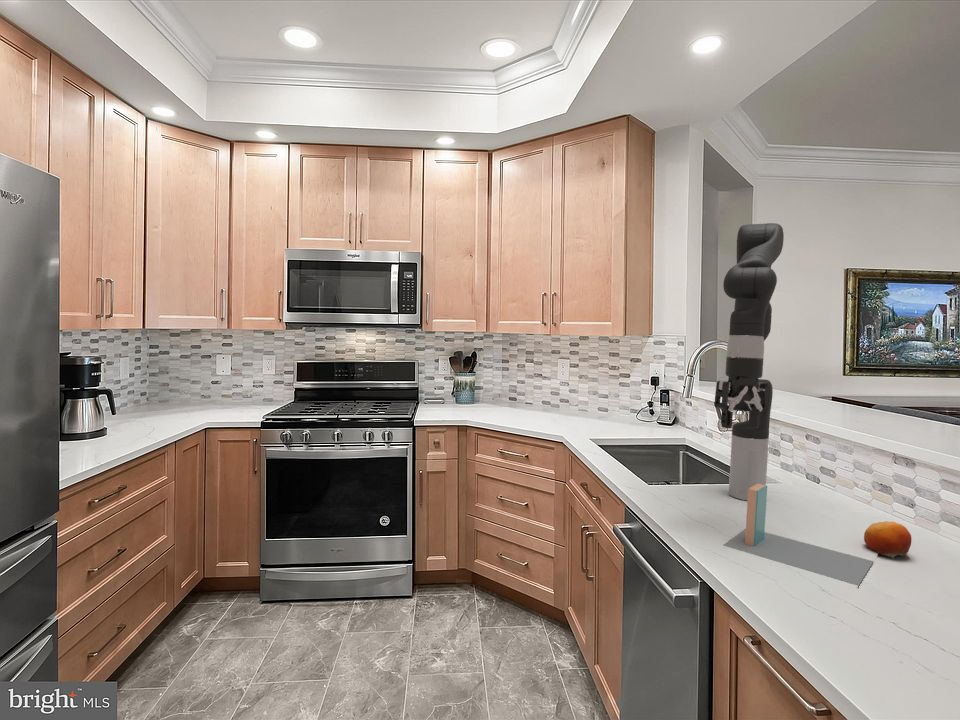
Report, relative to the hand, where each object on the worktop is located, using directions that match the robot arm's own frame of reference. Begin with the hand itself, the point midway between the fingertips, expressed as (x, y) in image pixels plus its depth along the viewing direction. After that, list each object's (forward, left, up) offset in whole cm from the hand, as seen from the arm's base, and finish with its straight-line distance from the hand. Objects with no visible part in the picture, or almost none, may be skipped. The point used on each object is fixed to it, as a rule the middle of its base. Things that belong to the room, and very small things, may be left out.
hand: (740, 427), depth 120 cm
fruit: (-13, +26, -25) cm, 39 cm away
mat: (+3, +13, -25) cm, 28 cm away
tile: (+3, +5, -24) cm, 25 cm away
